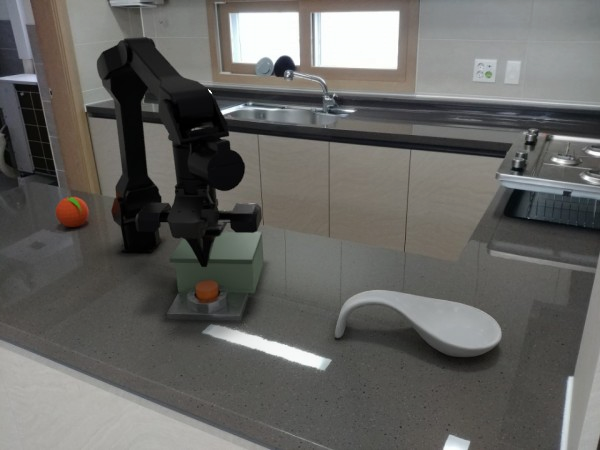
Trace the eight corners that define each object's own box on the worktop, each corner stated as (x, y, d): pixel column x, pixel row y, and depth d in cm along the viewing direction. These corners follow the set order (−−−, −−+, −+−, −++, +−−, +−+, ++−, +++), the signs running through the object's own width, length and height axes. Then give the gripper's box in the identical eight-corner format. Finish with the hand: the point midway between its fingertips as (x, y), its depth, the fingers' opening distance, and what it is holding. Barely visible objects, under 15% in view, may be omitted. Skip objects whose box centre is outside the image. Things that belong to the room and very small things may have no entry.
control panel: (167, 319, 87) (165, 303, 85) (179, 297, 93) (177, 281, 92) (240, 321, 86) (239, 305, 84) (248, 298, 92) (247, 283, 91)
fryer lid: (169, 262, 92) (169, 258, 92) (188, 235, 103) (187, 231, 103) (252, 263, 91) (252, 259, 91) (262, 235, 102) (262, 231, 101)
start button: (194, 300, 87) (192, 290, 86) (199, 289, 90) (198, 280, 89) (215, 300, 86) (214, 291, 86) (220, 289, 90) (219, 280, 89)
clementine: (99, 226, 123) (94, 196, 120) (70, 235, 118) (64, 205, 115) (81, 217, 128) (76, 189, 125) (53, 227, 123) (47, 198, 120)
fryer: (178, 292, 95) (174, 262, 92) (195, 262, 105) (192, 235, 103) (254, 293, 93) (252, 264, 91) (263, 263, 104) (262, 236, 102)
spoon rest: (494, 326, 83) (499, 285, 80) (504, 375, 72) (511, 330, 69) (341, 312, 87) (342, 273, 85) (330, 356, 77) (330, 313, 74)
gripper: (113, 191, 74) (130, 290, 80) (247, 191, 72) (254, 292, 79) (142, 167, 84) (154, 256, 90) (259, 167, 83) (264, 258, 89)
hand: (204, 266), depth 87 cm, fingers closed
